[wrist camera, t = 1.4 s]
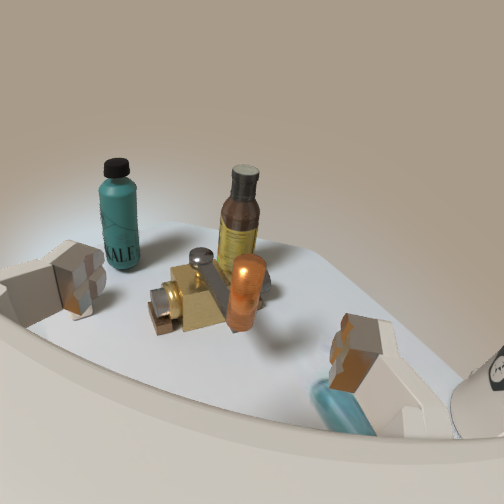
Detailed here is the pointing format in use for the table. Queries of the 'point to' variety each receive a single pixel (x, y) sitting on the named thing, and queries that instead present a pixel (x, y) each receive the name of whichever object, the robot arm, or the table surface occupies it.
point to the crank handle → (232, 286)
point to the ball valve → (190, 300)
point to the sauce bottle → (239, 217)
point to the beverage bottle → (119, 215)
